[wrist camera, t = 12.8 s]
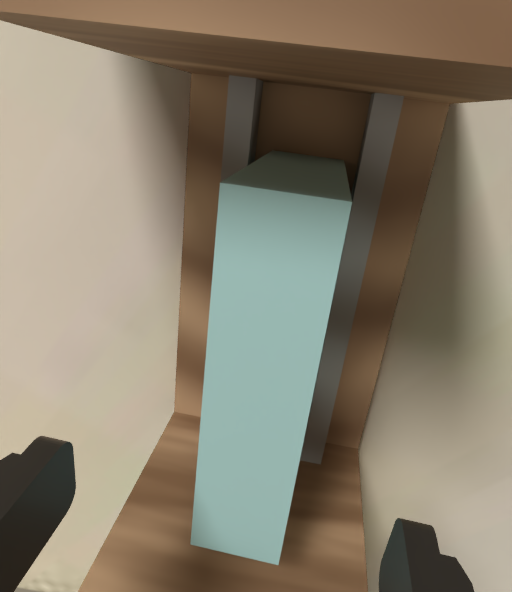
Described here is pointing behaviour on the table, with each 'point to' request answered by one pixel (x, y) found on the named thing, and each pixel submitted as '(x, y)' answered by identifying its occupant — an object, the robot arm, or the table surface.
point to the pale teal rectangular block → (265, 344)
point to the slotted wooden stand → (356, 250)
